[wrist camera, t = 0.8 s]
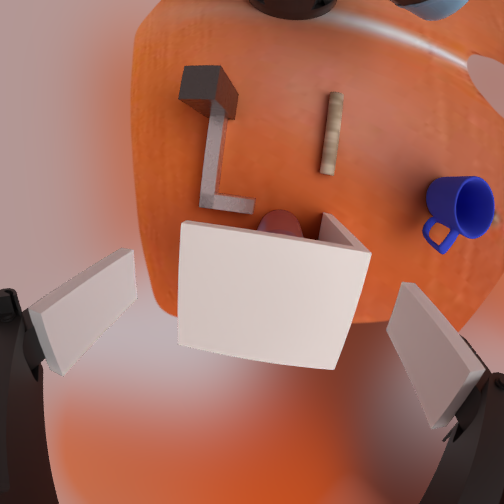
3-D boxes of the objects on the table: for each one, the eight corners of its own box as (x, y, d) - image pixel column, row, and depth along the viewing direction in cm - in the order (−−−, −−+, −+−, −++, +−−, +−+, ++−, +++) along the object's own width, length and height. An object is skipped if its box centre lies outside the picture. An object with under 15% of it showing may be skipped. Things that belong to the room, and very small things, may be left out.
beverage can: (253, 215, 40) (237, 242, 25) (293, 203, 38) (300, 224, 24) (266, 253, 41) (256, 299, 27) (304, 243, 40) (316, 283, 26)
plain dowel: (335, 96, 34) (327, 92, 33) (346, 96, 32) (338, 91, 31) (325, 174, 37) (316, 172, 36) (336, 176, 36) (327, 174, 35)
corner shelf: (228, 197, 39) (181, 223, 21) (331, 213, 38) (371, 253, 20) (220, 272, 43) (177, 344, 24) (315, 288, 42) (334, 369, 23)
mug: (396, 219, 37) (426, 235, 28) (437, 162, 34) (474, 163, 24) (427, 251, 38) (458, 273, 28) (465, 196, 34) (502, 206, 25)
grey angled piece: (211, 92, 35) (184, 65, 23) (270, 97, 34) (264, 68, 23) (197, 203, 40) (164, 218, 29) (254, 211, 39) (242, 229, 28)
